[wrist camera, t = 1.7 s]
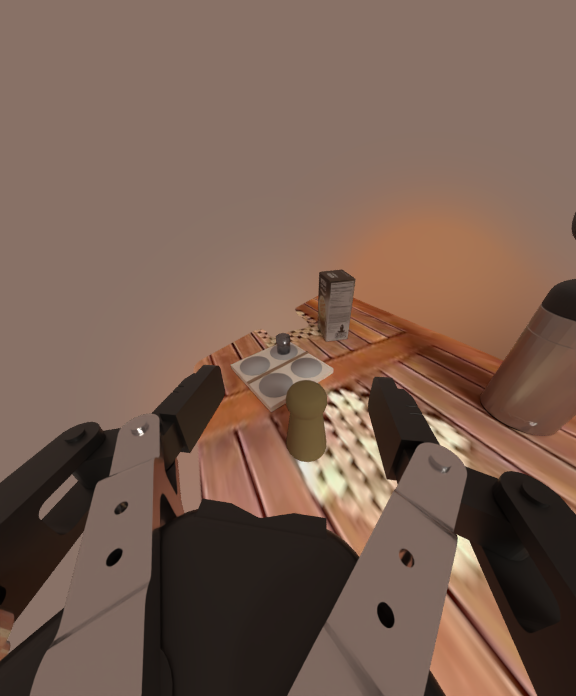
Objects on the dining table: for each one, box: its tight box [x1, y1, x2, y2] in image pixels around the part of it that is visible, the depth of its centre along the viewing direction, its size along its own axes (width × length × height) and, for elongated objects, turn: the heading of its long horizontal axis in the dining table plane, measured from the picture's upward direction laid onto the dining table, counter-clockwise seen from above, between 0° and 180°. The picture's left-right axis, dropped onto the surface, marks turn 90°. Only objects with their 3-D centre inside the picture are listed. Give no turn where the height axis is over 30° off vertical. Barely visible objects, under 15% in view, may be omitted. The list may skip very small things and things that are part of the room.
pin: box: [276, 333, 291, 355], centre depth 48 cm, size 3×3×4 cm
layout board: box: [231, 342, 333, 412], centre depth 45 cm, size 16×16×1 cm
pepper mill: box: [286, 380, 327, 462], centre depth 28 cm, size 6×6×11 cm
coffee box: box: [318, 270, 355, 341], centre depth 54 cm, size 9×6×16 cm
